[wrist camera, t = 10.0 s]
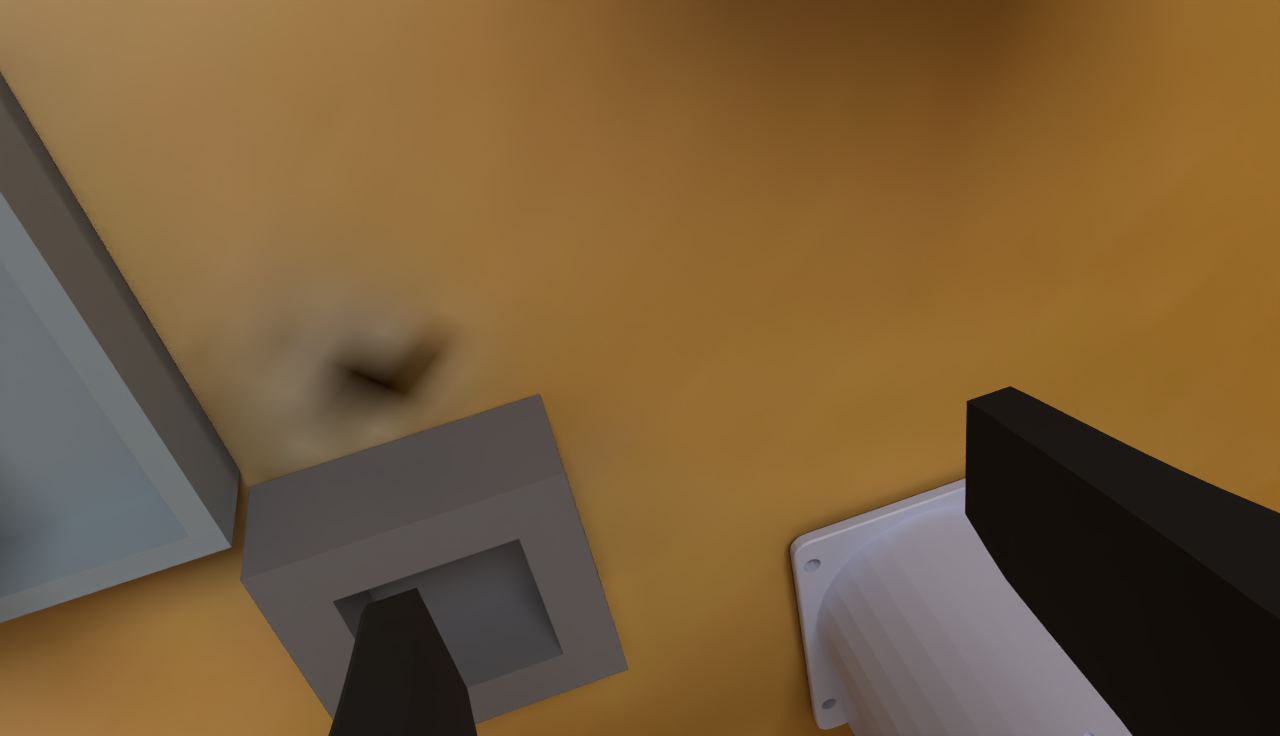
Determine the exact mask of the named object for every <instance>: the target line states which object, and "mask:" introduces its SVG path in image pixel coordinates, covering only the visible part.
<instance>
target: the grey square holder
mask: <svg viewBox="0 0 1280 736" xmlns="http://www.w3.org/2000/svg"><path fill="white" fill-rule="evenodd" d="M240 581H241V582H242V584H243V585H244V587H245V588H246V590H247V591H248V593H249V594H250V596H251V597H252V599H253V600H254V602H255V603H256V605H257V606H258V608H259V609H260V611H261V612H262V614H263V615H264V617H265V618H266V620H267V621H268V623H269V624H270V626H271V627H272V629H273V630H274V632H275V633H276V635H277V637H278V638H279V640H280V641H281V643H282V644H283V646H284V647H285V649H286V650H287V652H288V653H289V655H290V656H291V658H292V659H293V661H294V662H295V664H296V665H297V667H298V668H299V670H300V671H301V673H302V674H303V676H304V677H305V679H306V680H307V682H308V683H309V685H310V686H311V688H312V689H313V691H314V692H315V694H316V695H317V697H318V698H319V700H320V701H321V703H322V704H323V706H324V707H325V709H326V710H327V712H328V714H329V715H330V717H331V718H332V720H334V717H335V714H336V710H337V707H338V703H339V700H340V696H341V693H342V689H343V686H344V682H345V678H346V675H347V671H348V667H349V663H350V659H351V655H352V651H353V647H354V643H355V639H356V635H357V630H358V626H359V621H360V617H361V613H362V612H363V610H364V608H365V607H366V605H367V604H369V603H372V602H375V601H378V600H381V599H384V598H387V597H390V596H393V595H396V594H399V593H402V592H405V591H408V590H411V589H414V588H417V589H418V591H419V593H420V595H421V597H422V599H423V601H424V603H425V605H426V607H427V609H428V611H429V613H430V615H431V617H432V619H433V621H434V623H435V625H436V627H437V629H438V631H439V633H440V635H441V637H442V639H443V641H444V643H445V645H446V647H447V649H448V651H449V653H450V655H451V657H452V659H453V661H454V663H455V665H456V667H457V669H458V671H459V673H460V675H461V677H462V679H463V681H464V683H465V685H466V687H467V689H468V694H469V699H470V704H471V708H472V713H473V718H474V722H475V724H476V723H479V722H482V721H485V720H487V719H490V718H493V717H496V716H499V715H501V714H504V713H507V712H510V711H513V710H515V709H518V708H521V707H524V706H527V705H530V704H532V703H535V702H538V701H541V700H544V699H546V698H549V697H552V696H555V695H558V694H560V693H563V692H566V691H569V690H572V689H574V688H577V687H580V686H583V685H586V684H588V683H591V682H594V681H597V680H600V679H602V678H605V677H608V676H611V675H614V674H616V673H619V672H622V671H625V670H628V666H627V663H626V660H625V657H624V654H623V650H622V647H621V644H620V641H619V638H618V635H617V632H616V629H615V625H614V622H613V619H612V616H611V613H610V610H609V607H608V604H607V600H606V597H605V594H604V591H603V588H602V585H601V582H600V579H599V576H598V572H597V569H596V566H595V563H594V560H593V557H592V554H591V551H590V548H589V545H588V542H587V539H586V535H585V532H584V529H583V526H582V523H581V520H580V517H579V514H578V511H577V508H576V505H575V502H574V498H573V495H572V492H571V489H570V486H569V483H568V480H567V477H566V474H565V471H564V468H563V465H562V461H561V458H560V455H559V452H558V449H557V446H556V443H555V440H554V437H553V434H552V431H551V428H550V424H549V421H548V418H547V415H546V412H545V409H544V406H543V403H542V400H541V397H540V394H538V395H535V396H532V397H529V398H526V399H522V400H519V401H516V402H513V403H510V404H507V405H504V406H501V407H498V408H494V409H491V410H488V411H485V412H482V413H479V414H476V415H473V416H470V417H466V418H463V419H460V420H457V421H454V422H451V423H448V424H445V425H442V426H438V427H435V428H432V429H429V430H426V431H423V432H420V433H417V434H414V435H410V436H407V437H404V438H401V439H398V440H395V441H392V442H389V443H386V444H382V445H379V446H376V447H373V448H370V449H367V450H364V451H361V452H358V453H354V454H351V455H348V456H345V457H342V458H339V459H336V460H333V461H330V462H326V463H323V464H320V465H317V466H314V467H311V468H308V469H305V470H302V471H298V472H295V473H292V474H289V475H286V476H283V477H280V478H277V479H274V480H271V481H267V482H264V483H261V484H258V485H255V486H252V487H249V496H248V507H247V517H246V527H245V537H244V548H243V558H242V568H241V578H240Z"/></svg>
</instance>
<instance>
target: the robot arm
mask: <svg viewBox="0 0 1280 736" xmlns="http://www.w3.org/2000/svg"><path fill="white" fill-rule="evenodd" d="M790 554H791V562H792V569H793V576H794V583H795V590H796V597H797V604H798V611H799V618H800V625H801V632H802V639H803V646H804V653H805V660H806V667H807V674H808V681H809V689H810V696H811V703H812V710H813V717H814V719H815V721H816V723H817V725H818V727H819V728H821V729H825V730H828V729H832V728H835V727H837V726H840V725H843V724H846V723H848V724H849V726H850V728H851V730H852V732H853V734H854V736H1280V513H1278V512H1276V511H1273V510H1271V509H1268V508H1266V507H1264V506H1261V505H1259V504H1256V503H1254V502H1252V501H1249V500H1247V499H1245V498H1242V497H1240V496H1237V495H1235V494H1233V493H1230V492H1228V491H1226V490H1223V489H1221V488H1219V487H1216V486H1214V485H1212V484H1210V483H1207V482H1205V481H1203V480H1201V479H1199V478H1196V477H1194V476H1192V475H1190V474H1188V473H1185V472H1183V471H1181V470H1179V469H1177V468H1175V467H1172V466H1170V465H1168V464H1166V463H1164V462H1162V461H1160V460H1158V459H1156V458H1154V457H1151V456H1149V455H1147V454H1145V453H1143V452H1141V451H1139V450H1137V449H1135V448H1133V447H1131V446H1129V445H1127V444H1125V443H1123V442H1121V441H1119V440H1117V439H1115V438H1113V437H1111V436H1109V435H1107V434H1105V433H1103V432H1101V431H1099V430H1097V429H1095V428H1093V427H1091V426H1089V425H1087V424H1085V423H1083V422H1081V421H1079V420H1077V419H1075V418H1073V417H1071V416H1069V415H1067V414H1065V413H1063V412H1061V411H1059V410H1057V409H1055V408H1054V407H1052V406H1050V405H1048V404H1046V403H1044V402H1042V401H1040V400H1038V399H1036V398H1034V397H1032V396H1030V395H1028V394H1026V393H1023V392H1021V391H1019V390H1017V389H1015V388H1013V387H1011V386H1010V387H1007V388H1004V389H1001V390H998V391H995V392H992V393H989V394H986V395H983V396H980V397H977V398H974V399H971V400H969V401H967V422H966V478H964V479H961V480H959V481H956V482H953V483H950V484H947V485H944V486H941V487H938V488H936V489H933V490H930V491H927V492H924V493H921V494H918V495H915V496H913V497H910V498H907V499H904V500H901V501H898V502H895V503H892V504H890V505H887V506H884V507H881V508H878V509H875V510H872V511H869V512H867V513H864V514H861V515H858V516H855V517H852V518H849V519H846V520H844V521H841V522H838V523H835V524H832V525H829V526H826V527H823V528H821V529H818V530H815V531H812V532H809V533H806V534H804V535H802V536H800V537H798V538H797V539H796V540H795V541H794V542H793V544H792V545H791V548H790ZM810 560H811V561H810ZM808 561H809V562H808ZM329 736H477V732H476V727H475V722H474V718H473V713H472V708H471V704H470V699H469V694H468V689H467V687H466V685H465V683H464V681H463V679H462V677H461V675H460V673H459V671H458V669H457V667H456V665H455V663H454V661H453V659H452V657H451V655H450V653H449V651H448V649H447V647H446V645H445V643H444V641H443V639H442V637H441V635H440V633H439V631H438V629H437V627H436V625H435V623H434V621H433V619H432V617H431V615H430V613H429V611H428V609H427V607H426V605H425V603H424V601H423V599H422V597H421V595H420V593H419V591H418V589H417V588H414V589H411V590H408V591H405V592H402V593H399V594H396V595H393V596H390V597H387V598H384V599H381V600H378V601H375V602H372V603H369V604H367V605H366V607H365V608H364V610H363V612H362V613H361V617H360V621H359V626H358V630H357V635H356V639H355V643H354V647H353V651H352V655H351V659H350V663H349V667H348V671H347V675H346V678H345V682H344V686H343V689H342V693H341V696H340V700H339V703H338V707H337V710H336V714H335V717H334V720H333V723H332V726H331V730H330V733H329Z"/></svg>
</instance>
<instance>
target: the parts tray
mask: <svg viewBox="0 0 1280 736" xmlns="http://www.w3.org/2000/svg"><path fill="white" fill-rule="evenodd" d="M239 476H240V471H239V469H238V468H237V466H236V464H235V463H234V461H233V459H232V458H231V456H230V454H229V453H228V451H227V449H226V448H225V446H224V444H223V443H222V441H221V439H220V438H219V436H218V434H217V433H216V431H215V429H214V428H213V426H212V424H211V423H210V421H209V419H208V418H207V416H206V414H205V413H204V411H203V409H202V408H201V406H200V404H199V403H198V401H197V399H196V398H195V396H194V394H193V393H192V391H191V389H190V388H189V386H188V384H187V383H186V381H185V379H184V378H183V376H182V374H181V373H180V371H179V369H178V368H177V366H176V364H175V363H174V361H173V359H172V358H171V356H170V354H169V353H168V351H167V349H166V348H165V346H164V344H163V343H162V341H161V339H160V338H159V336H158V334H157V333H156V331H155V329H154V328H153V326H152V324H151V323H150V321H149V319H148V318H147V316H146V315H145V313H144V311H143V310H142V308H141V306H140V305H139V303H138V301H137V300H136V298H135V296H134V295H133V293H132V291H131V290H130V288H129V286H128V285H127V283H126V281H125V280H124V278H123V276H122V275H121V273H120V271H119V270H118V268H117V266H116V265H115V263H114V261H113V260H112V258H111V256H110V255H109V253H108V251H107V250H106V248H105V246H104V245H103V243H102V241H101V240H100V238H99V236H98V235H97V233H96V231H95V230H94V228H93V226H92V225H91V223H90V221H89V220H88V218H87V216H86V215H85V213H84V211H83V210H82V208H81V206H80V205H79V203H78V201H77V200H76V198H75V196H74V195H73V193H72V191H71V190H70V188H69V186H68V185H67V183H66V181H65V180H64V178H63V176H62V175H61V173H60V171H59V170H58V168H57V166H56V165H55V163H54V162H53V160H52V158H51V157H50V155H49V153H48V152H47V150H46V148H45V147H44V145H43V143H42V142H41V140H40V138H39V137H38V135H37V133H36V132H35V130H34V128H33V127H32V125H31V123H30V122H29V120H28V118H27V117H26V115H25V113H24V112H23V110H22V108H21V107H20V105H19V103H18V102H17V100H16V98H15V97H14V95H13V93H12V92H11V90H10V88H9V87H8V85H7V83H6V82H5V80H4V78H3V77H2V75H1V73H0V623H2V622H5V621H8V620H11V619H14V618H17V617H20V616H23V615H26V614H29V613H32V612H35V611H39V610H42V609H45V608H48V607H51V606H54V605H57V604H60V603H63V602H66V601H69V600H72V599H75V598H78V597H81V596H84V595H87V594H90V593H93V592H97V591H100V590H103V589H106V588H109V587H112V586H115V585H118V584H121V583H124V582H127V581H130V580H133V579H136V578H139V577H142V576H145V575H148V574H151V573H155V572H158V571H161V570H164V569H167V568H170V567H173V566H176V565H179V564H182V563H185V562H188V561H191V560H194V559H197V558H200V557H203V556H206V555H210V554H213V553H216V552H219V551H222V550H225V549H228V548H231V547H232V539H233V530H234V521H235V512H236V503H237V494H238V485H239Z"/></svg>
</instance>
